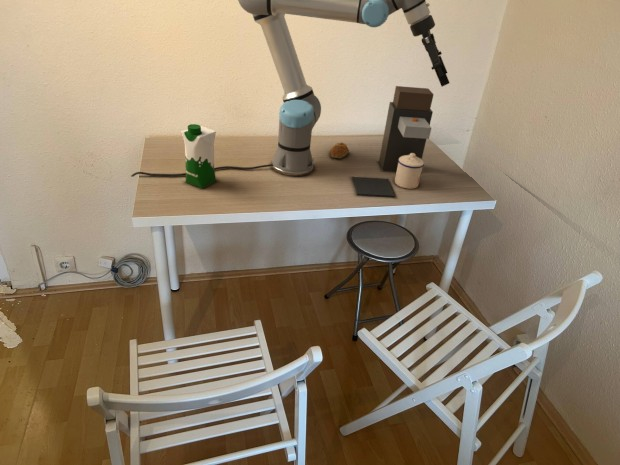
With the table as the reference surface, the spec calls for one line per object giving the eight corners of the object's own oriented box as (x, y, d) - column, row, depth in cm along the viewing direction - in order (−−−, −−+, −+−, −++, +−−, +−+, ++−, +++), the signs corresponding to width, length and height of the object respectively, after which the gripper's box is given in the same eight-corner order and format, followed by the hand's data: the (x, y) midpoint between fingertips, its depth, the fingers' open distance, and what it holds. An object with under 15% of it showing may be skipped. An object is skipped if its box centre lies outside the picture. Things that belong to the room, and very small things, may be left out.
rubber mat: (394, 197, 162) (394, 195, 162) (357, 195, 161) (357, 193, 161) (387, 180, 173) (387, 178, 173) (352, 178, 172) (352, 176, 172)
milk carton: (181, 182, 157) (178, 124, 147) (200, 173, 164) (198, 117, 153) (202, 190, 154) (199, 132, 143) (220, 181, 161) (219, 124, 150)
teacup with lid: (422, 189, 169) (429, 159, 163) (397, 189, 168) (404, 158, 161) (412, 174, 179) (418, 145, 173) (388, 174, 178) (394, 144, 171)
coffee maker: (424, 184, 173) (444, 103, 156) (387, 182, 171) (403, 100, 155) (413, 164, 187) (430, 88, 171) (378, 162, 186) (392, 85, 170)
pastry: (343, 161, 184) (344, 152, 182) (326, 157, 185) (327, 148, 183) (349, 152, 191) (350, 143, 189) (333, 149, 193) (334, 140, 191)
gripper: (432, 19, 142) (458, 84, 150) (430, 8, 162) (453, 65, 171) (408, 32, 145) (435, 94, 153) (409, 19, 165) (433, 75, 174)
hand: (444, 79), depth 162 cm, fingers open, 13 cm apart
